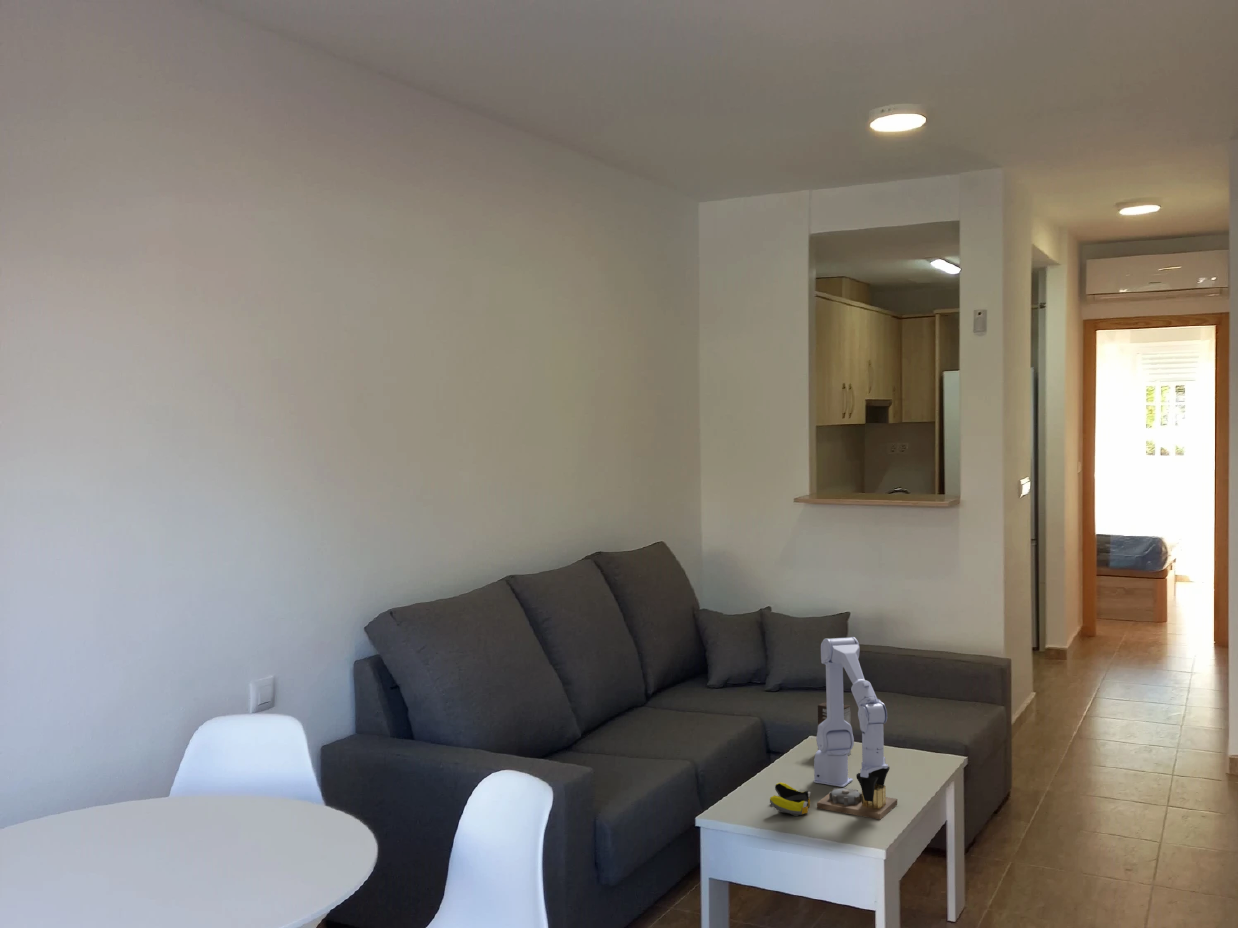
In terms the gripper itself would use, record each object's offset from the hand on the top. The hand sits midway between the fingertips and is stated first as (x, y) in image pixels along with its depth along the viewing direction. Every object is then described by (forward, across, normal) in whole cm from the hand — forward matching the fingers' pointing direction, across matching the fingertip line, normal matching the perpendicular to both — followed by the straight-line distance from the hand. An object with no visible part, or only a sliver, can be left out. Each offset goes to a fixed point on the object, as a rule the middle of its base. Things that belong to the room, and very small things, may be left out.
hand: (873, 796), depth 296 cm
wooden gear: (+2, 0, 0) cm, 2 cm away
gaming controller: (+4, -10, +20) cm, 23 cm away
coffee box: (+4, +45, +29) cm, 54 cm away
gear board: (+4, +1, +5) cm, 6 cm away
